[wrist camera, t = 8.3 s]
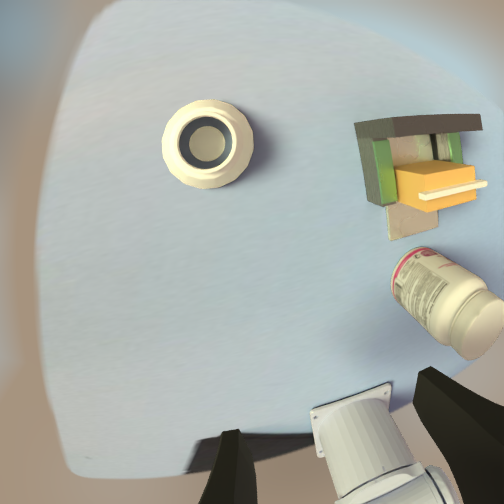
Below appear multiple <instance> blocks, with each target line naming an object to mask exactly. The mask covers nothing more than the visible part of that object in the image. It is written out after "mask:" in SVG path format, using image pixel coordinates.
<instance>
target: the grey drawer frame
mask: <svg viewBox="0 0 504 504" xmlns="http://www.w3.org/2000/svg"><path fill="white" fill-rule="evenodd" d="M354 125H355V130H356V135H357V140H358V145H359V150H360V156H361V161H362V167H363V173H364V179H365V186H366V193H367V200H368V201H369V202H372V203H374V204H377V205H379V206H382V207H384V206H386V215H387V226H388V238H389V240H390V241H392V240H396V239H399V238H403V237H406V236H409V235H413V234H416V233H419V232H423V231H426V230H429V229H433V228H436V227H438V210H435V211H431V212H428V213H427V212H424V211H422V210H419V209H416V208H414V207H411V206H408V205H406V204H403V203H400V202H397V201H398V199H397V190H396V181H395V174H394V167H395V166H401V165H407V164H413V163H419V162H425V161H431V160H433V158H434V160H439V161H446V162H453V163H459V164H463V159H462V150H461V142H460V135H459V132H460V131H477V130H483V129H482V122H481V116H480V114H437V115H417V116H403V117H391V118H384V119H377V120H370V121H364V122H357V123H354ZM430 137H431V140H430ZM431 143H432V147H431ZM432 150H433V154H432Z"/></svg>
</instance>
